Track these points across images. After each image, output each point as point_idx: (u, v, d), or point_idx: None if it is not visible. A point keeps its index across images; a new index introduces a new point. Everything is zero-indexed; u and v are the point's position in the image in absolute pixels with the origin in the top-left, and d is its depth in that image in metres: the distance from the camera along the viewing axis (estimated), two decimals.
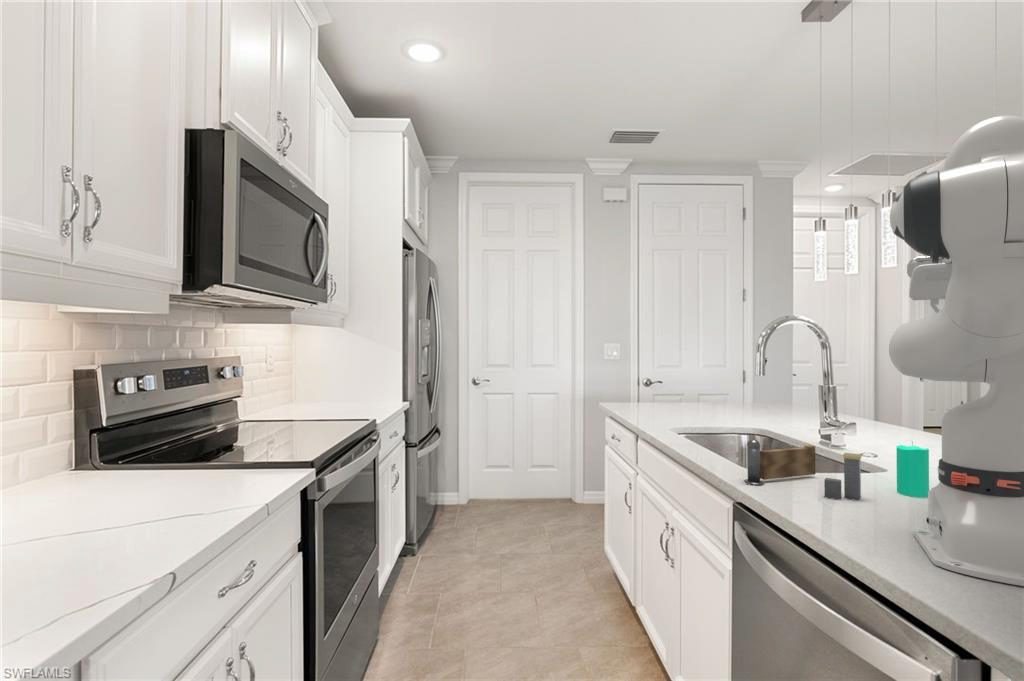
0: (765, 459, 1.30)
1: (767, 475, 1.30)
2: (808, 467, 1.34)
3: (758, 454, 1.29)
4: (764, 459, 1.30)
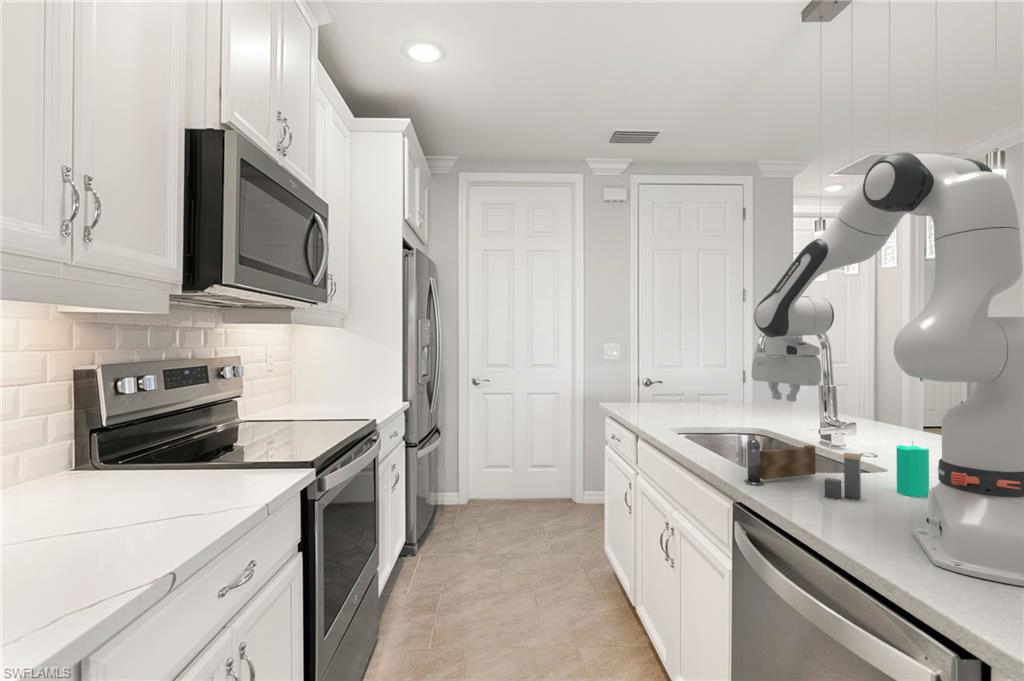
0: (765, 459, 1.30)
1: (767, 475, 1.30)
2: (808, 467, 1.34)
3: (758, 454, 1.29)
4: (764, 459, 1.30)
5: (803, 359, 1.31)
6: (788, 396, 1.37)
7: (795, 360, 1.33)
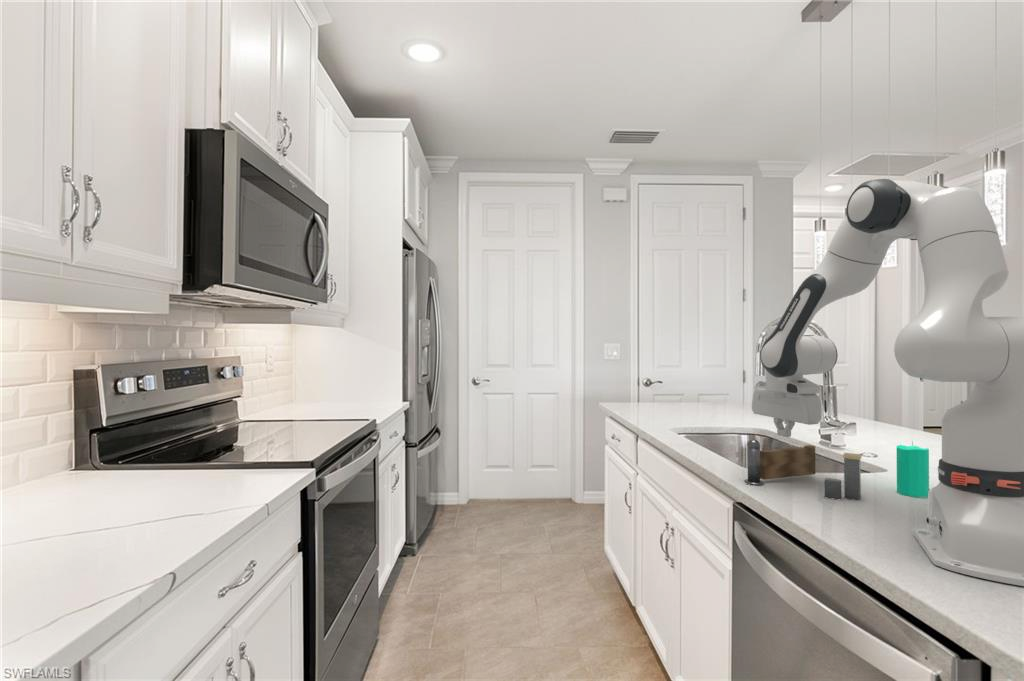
0: (765, 459, 1.30)
1: (767, 475, 1.30)
2: (808, 467, 1.34)
3: (758, 454, 1.29)
4: (764, 459, 1.30)
5: (803, 398, 1.31)
6: (783, 431, 1.40)
7: (795, 398, 1.34)
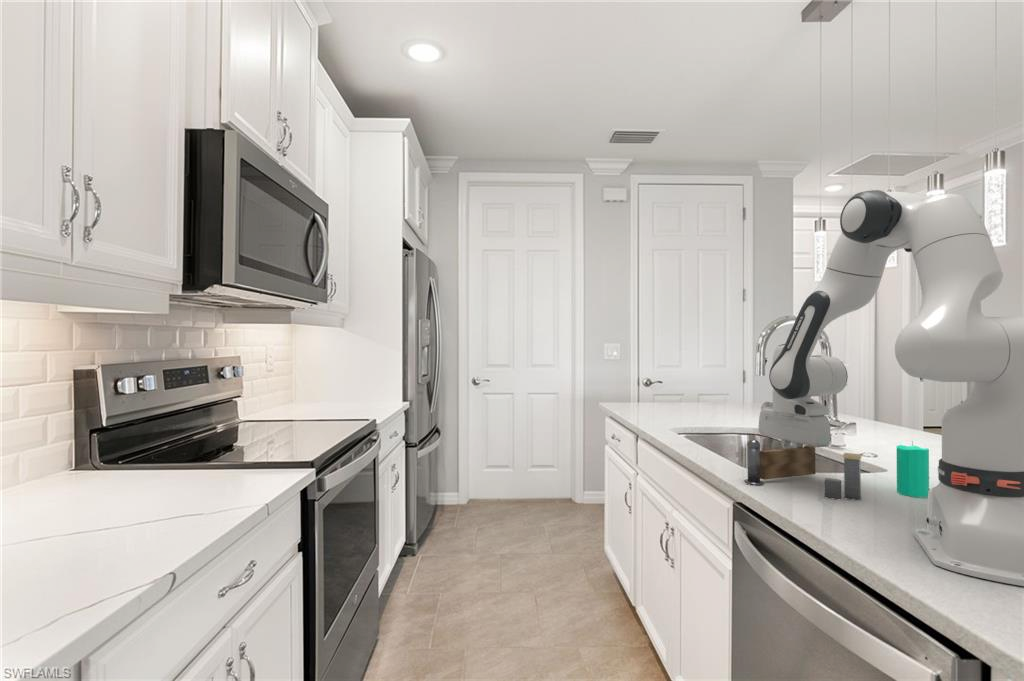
0: (765, 459, 1.30)
1: (767, 475, 1.30)
2: (808, 467, 1.34)
3: (758, 454, 1.29)
4: (764, 459, 1.30)
5: (812, 420, 1.28)
6: None
7: (803, 419, 1.31)
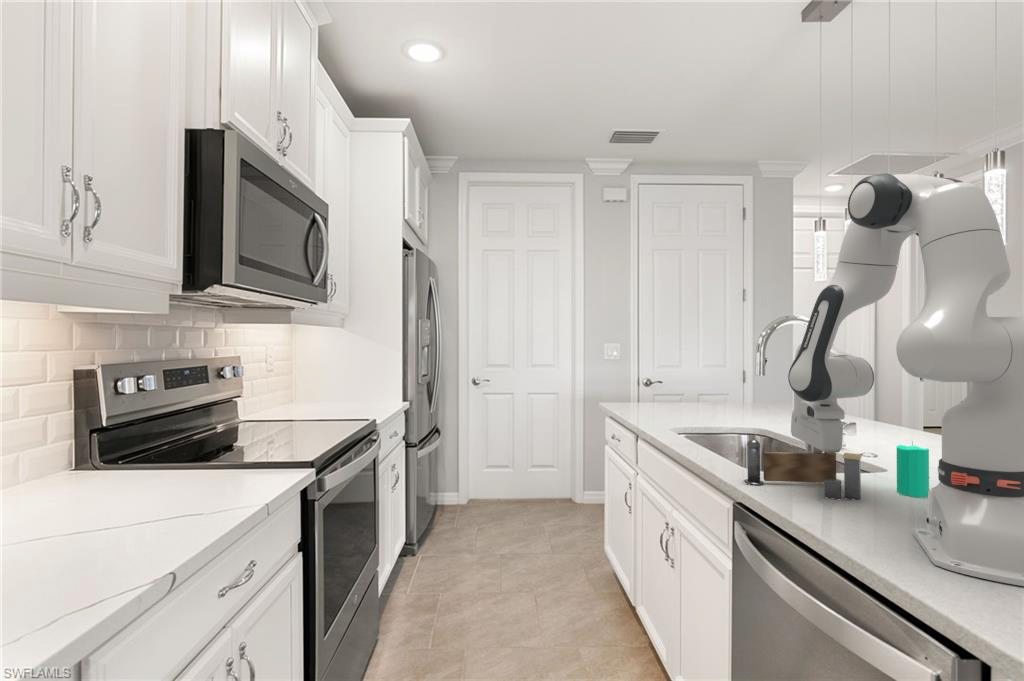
0: (766, 460, 1.29)
1: (769, 476, 1.29)
2: (826, 474, 1.27)
3: (758, 454, 1.29)
4: (766, 460, 1.29)
5: (819, 423, 1.22)
6: None
7: (814, 422, 1.25)
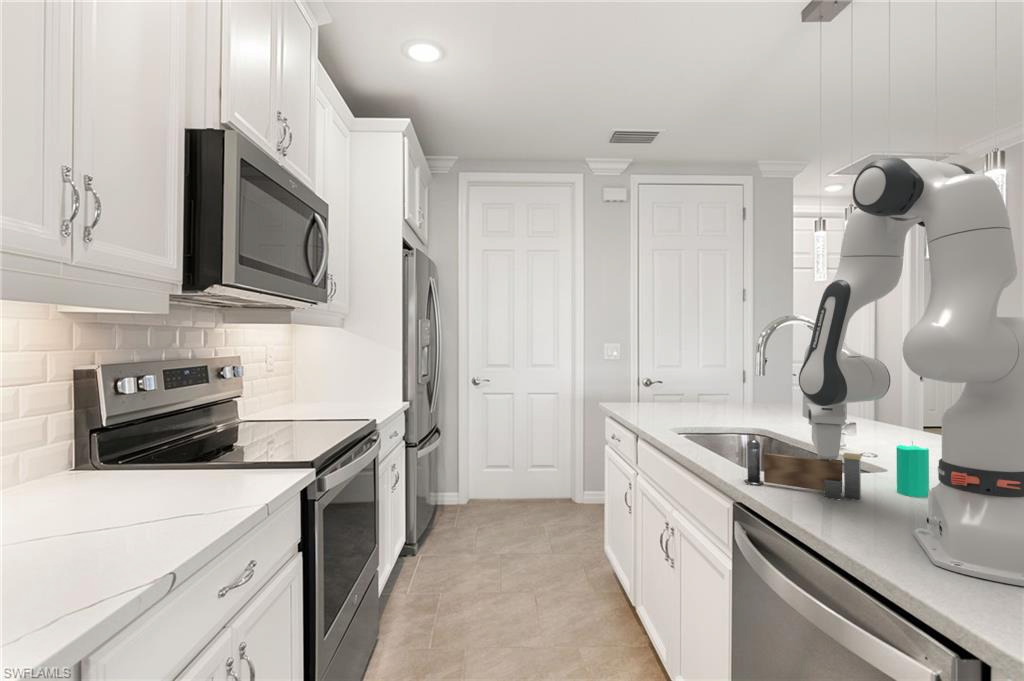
0: (765, 462, 1.28)
1: (767, 478, 1.27)
2: None
3: (758, 454, 1.29)
4: (764, 461, 1.28)
5: (815, 427, 1.16)
6: None
7: (814, 426, 1.18)
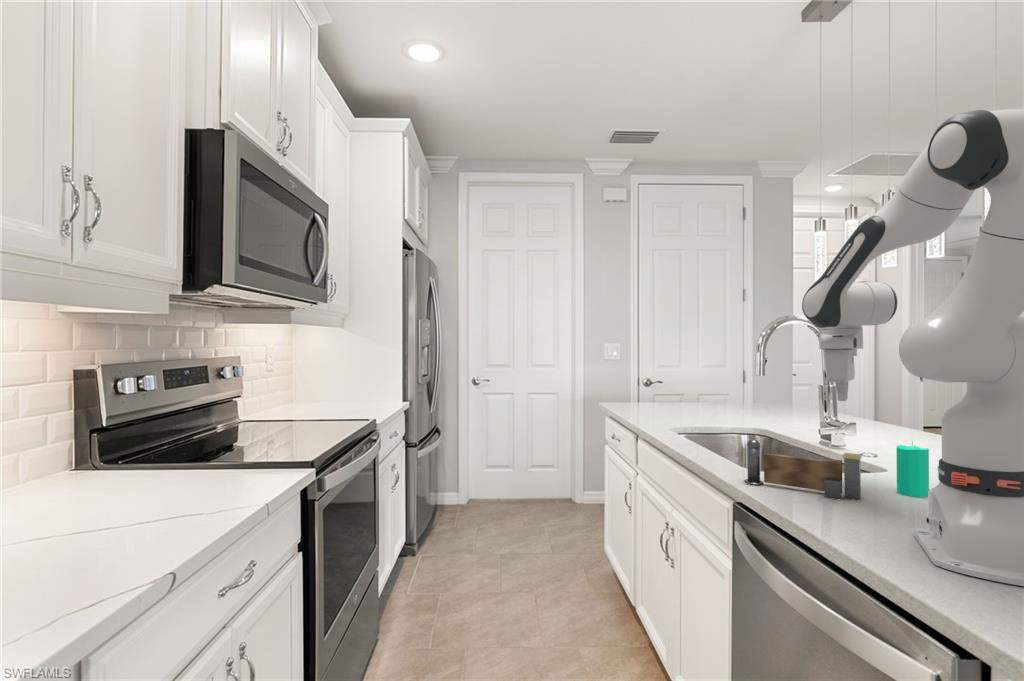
0: (765, 462, 1.28)
1: (767, 478, 1.27)
2: None
3: (758, 454, 1.29)
4: (764, 461, 1.28)
5: (824, 352, 1.19)
6: None
7: None
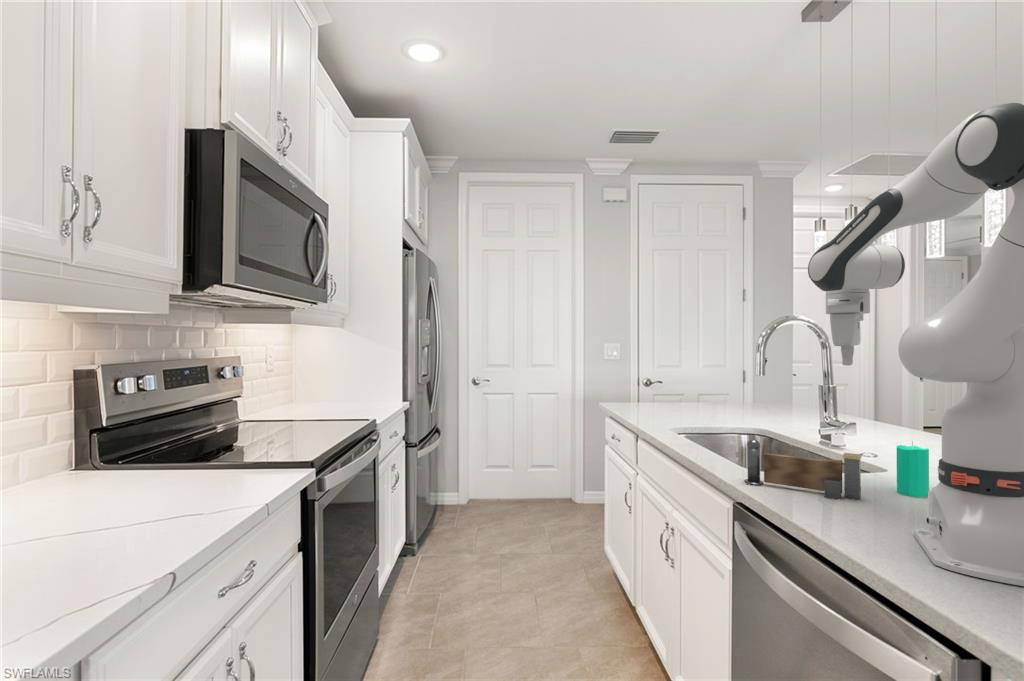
0: (765, 462, 1.28)
1: (767, 478, 1.27)
2: None
3: (758, 454, 1.29)
4: (764, 461, 1.28)
5: (830, 317, 1.19)
6: None
7: None
